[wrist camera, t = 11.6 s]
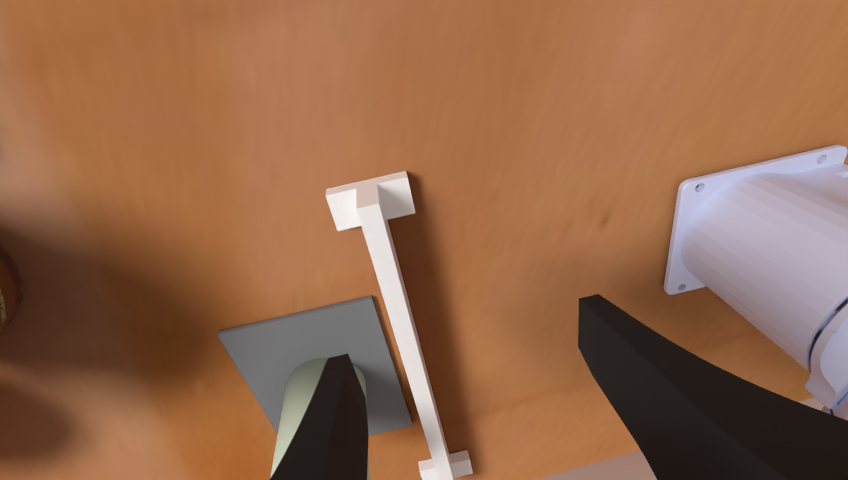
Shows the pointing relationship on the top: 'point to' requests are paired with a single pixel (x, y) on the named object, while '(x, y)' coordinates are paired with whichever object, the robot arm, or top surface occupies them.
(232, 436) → the top surface
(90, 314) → the top surface
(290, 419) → the green cylinder
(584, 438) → the top surface
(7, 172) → the top surface
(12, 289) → the food container
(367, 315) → the mat
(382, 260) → the low wall
